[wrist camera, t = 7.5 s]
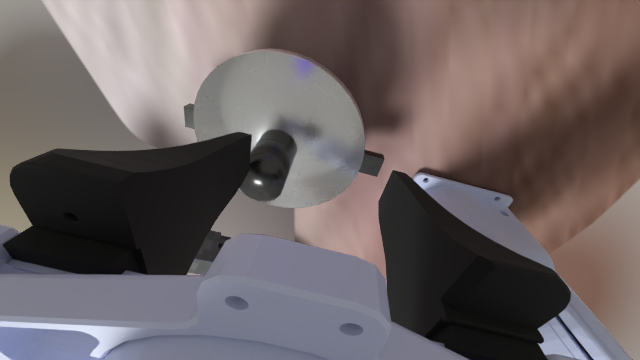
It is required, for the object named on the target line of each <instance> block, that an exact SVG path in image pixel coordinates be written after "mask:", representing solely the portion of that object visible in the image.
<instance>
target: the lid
mask: <svg viewBox="0 0 640 360" xmlns="http://www.w3.org/2000/svg"><path fill="white" fill-rule="evenodd" d="M193 115H194V128H195V133H196V137H197V140H198V142H201V141H205V140H209V139H213V138H216V137H220V136H223V135H227V134H230V133H235V132H243V133H247V134H251V135H252V141H251V155H250V168H249V172H248V174H247V176H246V178H245V180H244V181H243V183H242V185H241V186H240V188H239V189H238V191H240V192H241V193H243V194H245V195H246V196H248V197H250V198H253V199H255V200H257V201H260V202H263V203H266V204H269V205H273V206H278V207H286V208H303V207H310V206H314V205H318V204H321V203H324V202H326V201H329V200H331V199H332V198H334V197H336V196H338V195H339V194H340V193H342V192H343V191H344V190H345V189H346V188H347V187H348V186H349V185H350V184H351V183H352V181H353V180H354V179H355V177H356V175H357V173H358V172H359V170H360V167H361V164H362V161H363V156H364V150H365V134H364V124H363V120H362V116H361V113H360V110H359V108H358V105H357V103H356V101H355V99H354V98H353V96H352V94H351V92H350V91H349V90H348V88H347V87H346V86H345V85H344V83H343V82H342V81H341V80H340V79H339V78H338V77H337V76H336V75H335V74H334V73H333V72H332V71H330V70H329V69H328V68H326V67H325V66H324V65H322V64H320V63H319V62H317V61H315V60H313V59H312V58H310V57H307V56H304V55H302V54H299V53H296V52H292V51H288V50H284V49H273V48H268V49H256V50H252V51H247V52H244V53H242V54H239V55H237V56H234V57H233V58H231V59H229V60H227V61H226V62H224V63H222V64H221V65H219V66H218V67H217V68H215V69H214V70H213V71H212V72H211V73H210V74H209V75H208V76H207V78H206V79H205V80H204V82H203V83H202V85H201V87H200V89H199V91H198V93H197V97H196V100H195V105H194V112H193Z"/></svg>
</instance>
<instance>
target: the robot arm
mask: <svg viewBox="0 0 640 360" xmlns="http://www.w3.org/2000/svg"><path fill="white" fill-rule="evenodd" d="M251 141H252V135H251V134H247V133H243V132H235V133H230V134H227V135H223V136H220V137H216V138H213V139H209V140H205V141H201V142H197V143H192V144H188V145H183V146H177V147H170V148H162V149H151V150H139V151H138V150H137V151H92V150H73V149H54V150H51V151H49V152H47V153H44V154H41V155H39V156H36V157H34V158H31V159H29V160H27V161H24V162H21V163H19V164H18V165H16V166H15V167H13V169H12V171H11V173H10V186H11V188H12V190H13V192H14V195H15V196H16V198H17V200H18V201H19V203H20V205H21V207H22V208H23V210H24V212H25V213H26V215H27V216H28V218H29V220H30V222H31V223H32V225H33V226H31V227H30V228H28V229H26V230H25V231H23V232H22V233H20V232H18V231H17V230H15V229H14V228H12V227H9V226H6V225H2V224H0V360H633V359H632V358H631V357H630V356H629V355H628V354H627V352H626V351H625V350H624V349H623V348H622V347H621V346H620V344H619V343H618V342H617V341H616V340H615V338H614V337H613V336H612V335H611V334H610V333H609V332H608V330H607V329H606V328H605V327H604V326H603V324H602V323H601V322H600V321H599V320H598V319H597V317H596V316H595V315H594V314H593V313H592V312H591V311H590V309H589V308H588V307H587V306H586V305H585V304H584V303H583V302H582V300H581V299H580V298H579V297H578V296H577V295H576V293H574V291H573V290H572V289H571V288H570V287H569V286H568V285H567V284H566V282H565V281H564V280H563V279H562V278H561V277H560V276H559V275H558V274H557V273H556V272H555V268H554V264H553V262H552V259H551V258H550V256H549V254H548V253H547V252H546V250H545V249H544V248H543V247H542V246H541V245H540V243H539V242H538V241H537V240H536V239H535V238H534V237H533V236H532V234H531V233H530V232H529V231H528V230H527V229H526V228H525V227H524V225H523V224H522V223H521V222H520V221H519V220H518V219H517V217H516V216H515V215H514V214H513V213H512V212H511V211H510V210H509V208H508V207H509V205H510V204H511V203H512V202H513V199H512V198H511V196H509V195H505V194H502V193H498V192H494V191H490V190H486V189H483V188H479V187H475V186H471V185H467V184H464V183H460V182H456V181H452V180H448V179H445V178H441V177H437V176H433V175H429V174H426V173H421V172H420V173H417V174H416V175H415V176H414V178H413V179H412V178H411V177H409V176H408V175H407V174H405V173H402V172H398V171H394V170H393V171H392V173H391V176H390V178H389V180H388V182H387V184H386V187H385V189H384V191H383V193H382V195H381V198H380V200H379V223H380V229H381V235H382V241H383V247H384V253H385V260H386V275H387V289H386V282H385V278H384V276H383V275H382V274H381V272H380V271H379V270H378V268H377V267H376V266H375V265H373V264H371V263H369V262H367V261H364V260H362V259H360V258H358V257H356V256H352V255H348V254H344V253H339V252H335V251H331V250H327V249H323V248H318V247H314V246H310V245H306V244H302V243H298V242H293V241H289V240H285V239H281V238H277V237H272V236H268V235H264V234H263V235H262V234H240V235H237V236H235V237H233V238H231V239H229V240H226V241H225V243H224V245H223V246H222V248H221V250H220V251H219V253H218V255H217V257H216V258H215V260H214V262H213V263H212V265H211V267H210V268H209V270H208V272H207V273H206V275H202V276H201V275H187V273H188V271H189V269H190V267H191V265H192V263H193V261H194V259H195V257H196V255H197V253H198V251H199V249H200V248H201V246H202V244H203V242H204V240H205V238H206V236H207V235H208V233H209V231H210V229H211V228H212V226H213V224H214V222H215V221H216V219H217V218H218V216H219V215H220V213H221V212H222V211H223V210H224V208H225V207H226V205H227V204H228V203H229V201H230V200H231V199H232V197H233V196H234V195H235V193H236V192H237V191H238V189H239V188H240V186H241V185H242V183H243V181H244V180H245V178H246V176H247V174H248V172H249V168H250V155H251ZM424 178H428V179H427V180H423V179H424ZM495 197H497V198H496V199H494V198H495Z"/></svg>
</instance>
